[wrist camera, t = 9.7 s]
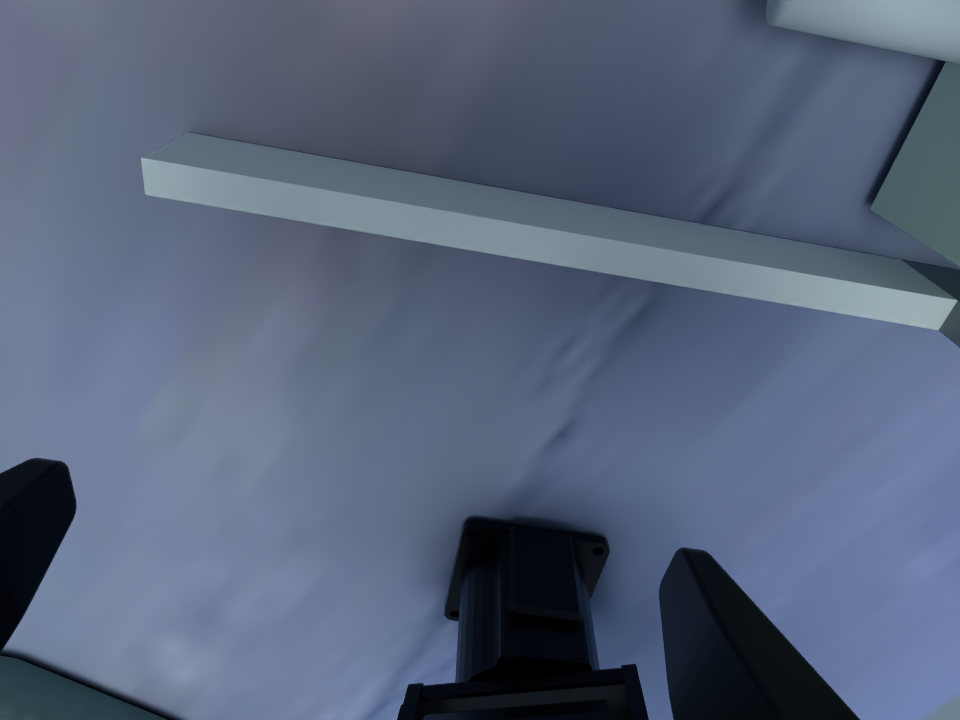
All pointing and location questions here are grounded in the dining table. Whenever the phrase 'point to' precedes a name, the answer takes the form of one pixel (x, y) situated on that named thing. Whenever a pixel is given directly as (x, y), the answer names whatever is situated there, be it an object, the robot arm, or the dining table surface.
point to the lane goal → (551, 231)
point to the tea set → (56, 697)
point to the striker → (941, 122)
